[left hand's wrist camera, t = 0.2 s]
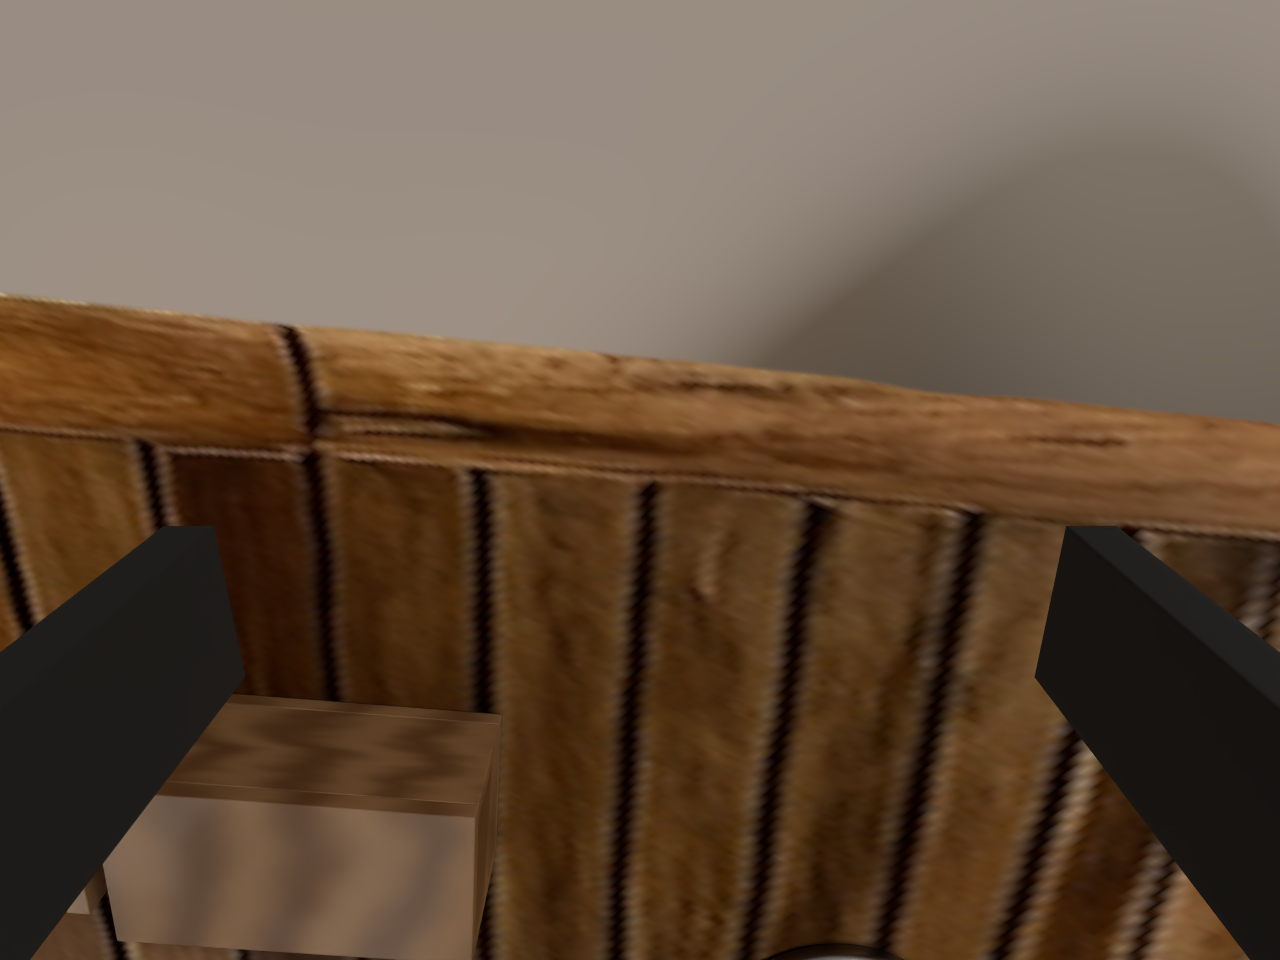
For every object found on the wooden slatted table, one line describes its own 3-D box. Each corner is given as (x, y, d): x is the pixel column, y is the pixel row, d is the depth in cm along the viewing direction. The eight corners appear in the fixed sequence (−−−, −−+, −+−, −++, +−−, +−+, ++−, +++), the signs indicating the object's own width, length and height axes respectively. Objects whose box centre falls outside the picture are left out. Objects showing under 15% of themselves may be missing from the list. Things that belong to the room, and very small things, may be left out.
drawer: (40, 819, 49) (-39, 906, 43) (12, 696, 46) (-77, 772, 40) (423, 846, 50) (394, 935, 44) (422, 727, 47) (391, 806, 41)
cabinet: (195, 825, 50) (117, 941, 43) (176, 688, 47) (87, 790, 39) (496, 846, 51) (471, 965, 44) (501, 713, 47) (475, 818, 40)
